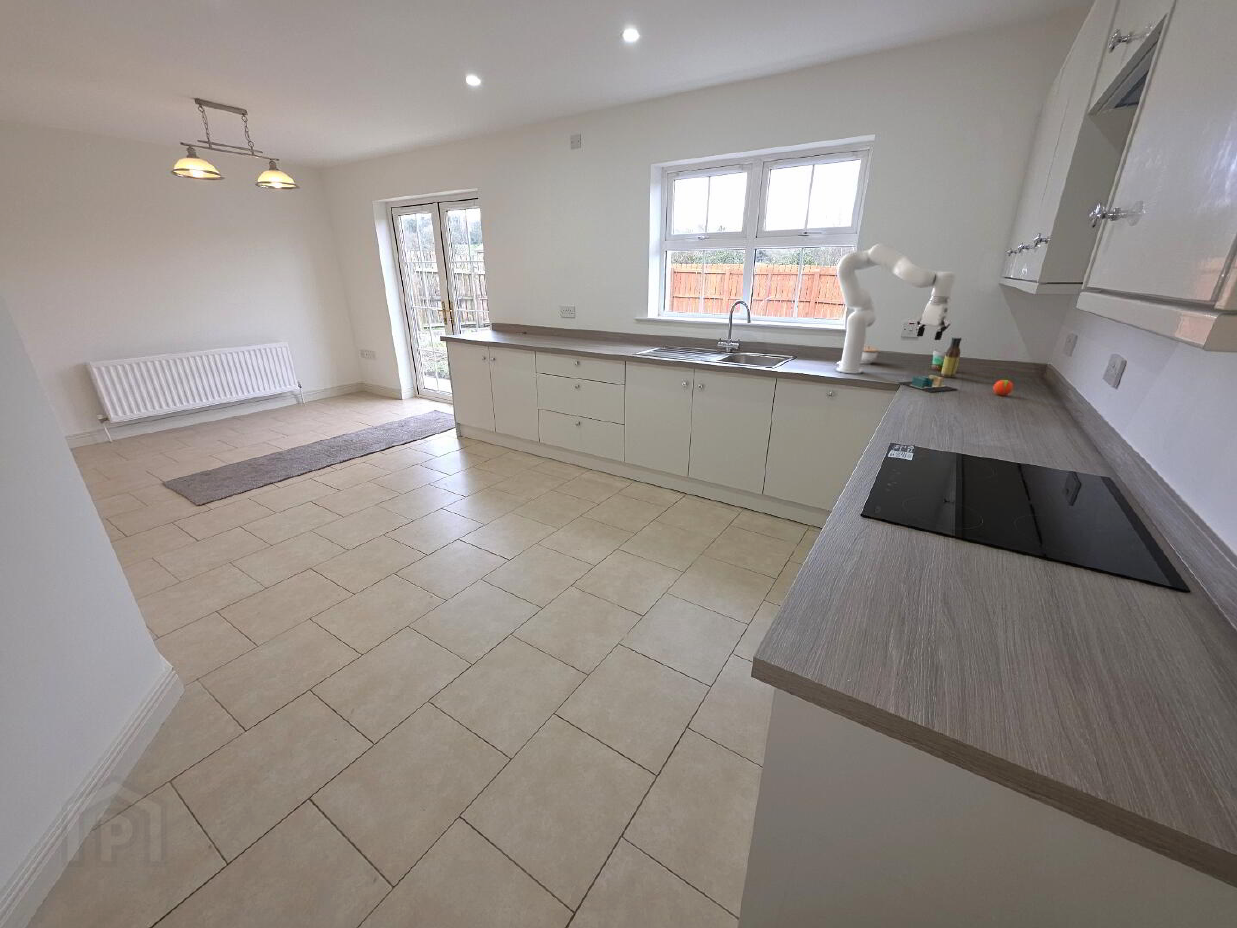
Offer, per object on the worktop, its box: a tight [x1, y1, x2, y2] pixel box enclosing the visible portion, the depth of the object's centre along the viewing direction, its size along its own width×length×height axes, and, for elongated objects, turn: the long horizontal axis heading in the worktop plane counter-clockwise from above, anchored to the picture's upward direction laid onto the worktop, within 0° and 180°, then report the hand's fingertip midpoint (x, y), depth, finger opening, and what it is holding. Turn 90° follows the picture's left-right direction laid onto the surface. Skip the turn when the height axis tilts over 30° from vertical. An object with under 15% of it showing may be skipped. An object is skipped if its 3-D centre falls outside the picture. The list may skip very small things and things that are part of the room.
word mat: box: [898, 380, 958, 394], centre depth 230 cm, size 18×16×1 cm
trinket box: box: [860, 345, 879, 365], centre depth 280 cm, size 11×11×9 cm
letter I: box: [929, 374, 944, 386], centre depth 230 cm, size 6×2×4 cm, turn 18°
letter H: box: [911, 375, 934, 388], centre depth 228 cm, size 6×6×4 cm
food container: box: [931, 349, 947, 372], centre depth 262 cm, size 12×6×10 cm, turn 25°
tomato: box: [992, 379, 1014, 396], centre depth 215 cm, size 8×7×7 cm
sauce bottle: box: [940, 336, 963, 379], centre depth 246 cm, size 7×6×20 cm
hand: (928, 338), depth 229 cm, fingers open, 9 cm apart
